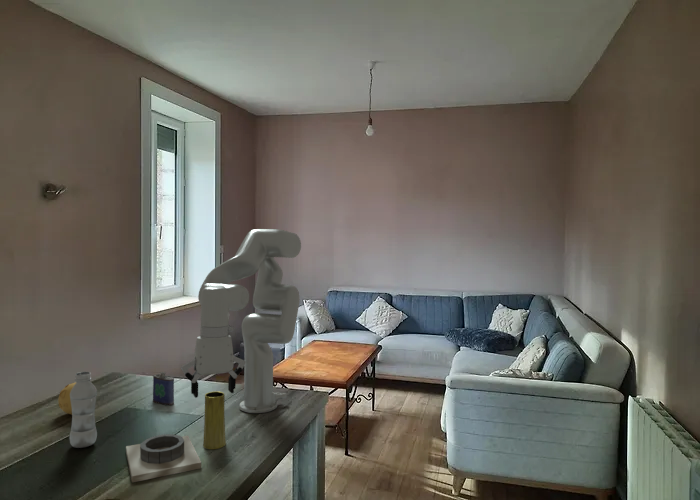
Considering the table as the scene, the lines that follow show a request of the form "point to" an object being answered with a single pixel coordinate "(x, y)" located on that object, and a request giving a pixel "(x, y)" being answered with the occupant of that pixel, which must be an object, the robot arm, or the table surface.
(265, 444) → the table surface
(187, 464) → the plate
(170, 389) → the flask
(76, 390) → the plastic bottle
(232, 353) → the robot arm
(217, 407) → the vase
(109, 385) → the table surface
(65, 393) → the stress ball
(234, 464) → the table surface
